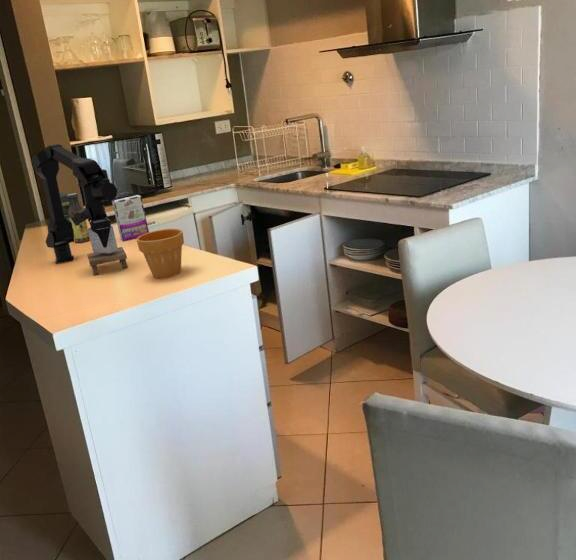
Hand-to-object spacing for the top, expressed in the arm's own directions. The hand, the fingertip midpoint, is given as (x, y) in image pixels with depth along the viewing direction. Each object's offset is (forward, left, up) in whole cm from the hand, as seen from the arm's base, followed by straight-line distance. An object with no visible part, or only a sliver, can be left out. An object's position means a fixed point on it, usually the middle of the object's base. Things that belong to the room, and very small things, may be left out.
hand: (103, 244), depth 213 cm
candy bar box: (-40, +14, -9) cm, 43 cm away
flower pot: (+23, +16, -9) cm, 29 cm away
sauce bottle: (-53, -6, -9) cm, 54 cm away
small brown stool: (0, 0, -8) cm, 8 cm away
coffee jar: (-71, -10, -9) cm, 72 cm away
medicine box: (0, 0, -3) cm, 3 cm away
